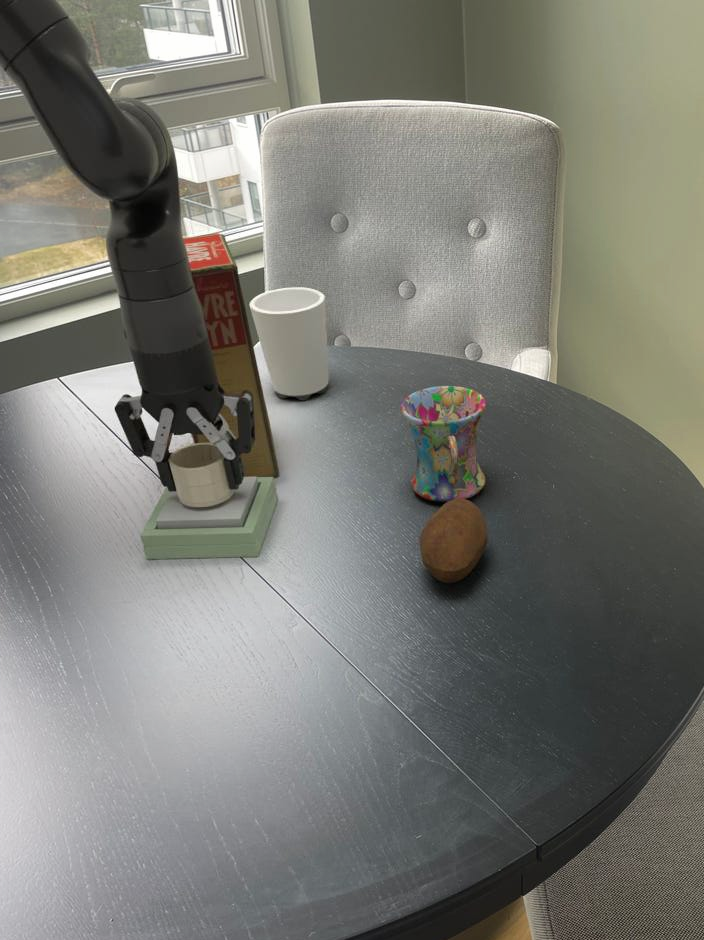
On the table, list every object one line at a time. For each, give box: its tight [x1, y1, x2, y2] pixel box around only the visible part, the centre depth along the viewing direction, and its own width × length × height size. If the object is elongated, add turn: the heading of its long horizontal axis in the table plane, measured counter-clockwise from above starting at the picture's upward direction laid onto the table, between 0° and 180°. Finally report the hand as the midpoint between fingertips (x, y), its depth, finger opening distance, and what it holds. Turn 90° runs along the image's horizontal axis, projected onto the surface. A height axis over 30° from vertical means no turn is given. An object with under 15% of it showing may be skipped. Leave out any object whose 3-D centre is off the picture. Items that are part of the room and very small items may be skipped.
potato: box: [419, 498, 488, 584], centre depth 97 cm, size 7×12×7 cm, turn 175°
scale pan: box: [156, 477, 259, 529], centre depth 106 cm, size 9×9×1 cm
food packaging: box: [183, 232, 280, 479], centre depth 112 cm, size 13×9×25 cm
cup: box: [249, 286, 330, 401], centre depth 132 cm, size 10×10×13 cm
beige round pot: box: [168, 443, 235, 507], centre depth 103 cm, size 6×6×4 cm
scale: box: [140, 477, 279, 560], centre depth 107 cm, size 12×12×3 cm
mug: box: [400, 385, 487, 503], centre depth 108 cm, size 12×9×11 cm
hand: (204, 486), depth 104 cm, fingers closed on beige round pot, 6 cm apart
